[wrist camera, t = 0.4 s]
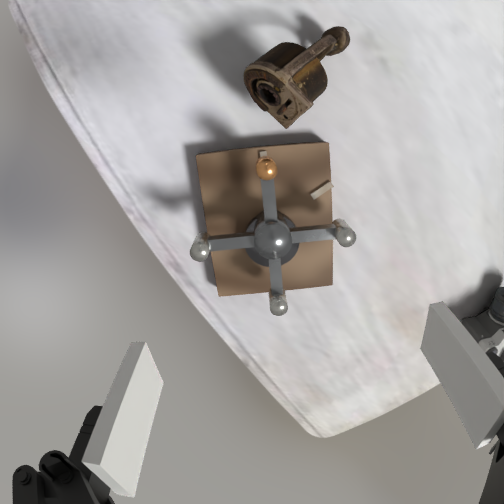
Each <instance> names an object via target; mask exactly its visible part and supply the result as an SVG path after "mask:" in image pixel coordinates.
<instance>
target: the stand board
mask: <svg viewBox="0 0 504 504" xmlns="http://www.w3.org/2000/svg"><path fill="white" fill-rule="evenodd" d="M262 156H269V157H271V158H272V159H273V161H274V162H275V164H276V166H277V174H276V176H275V177H274V186H275V197H276V208H277V210H278V211H279V212H281V213H282V214H284V215H286V216H288V217H289V218H290V219H291V220H292V221H293V222H294V224H295V226H296V227H303V226H314V225H325V224H332V192H331V188H332V187H334V186H333V185H332V183H331V170H330V153H329V143H328V142H308V143H293V144H280V145H268V146H258V147H248V148H239V149H230V150H222V151H215V152H207V153H200V154H198V155H196V161H197V168H198V175H199V182H200V188H201V195H202V201H203V208H204V214H205V220H206V226H207V233H208V234H209V235H210V236H214V235H223V234H233V233H243V232H245V230H246V227H247V225H248V224H249V222H250V221H251V220H252V219H253V218H254V217H256V216H257V215H258V214H259V213H260V212H261V211H263V210H264V209H263V199H262V189H261V180H260V177H259V176H258V175H257V171H256V162H257V160H258V159H259V158H260V157H262ZM211 256H212V262H213V268H214V273H215V279H216V284H217V290H218V295H219V296H231V295H243V294H253V293H264V292H269V290H270V288H271V282H270V272H269V267H266V266H262V265H259V264H257V263H256V262H254V261H253V260H252V259H251V258H250V257H249V256H248V254H247V252H246V250H245V248H241V249H231V250H221V251H211ZM281 271H282V285H283V288H284V290H294V289H303V288H312V287H321V286H329V285H332V283H333V239H332V240H322V241H312V242H302V243H300V244H299V248H298V251H297V253H296V254H295V256H294V257H293V258H292V259H291V260H290V261H289V262H287V263H285V264H283V265H281Z"/></svg>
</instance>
